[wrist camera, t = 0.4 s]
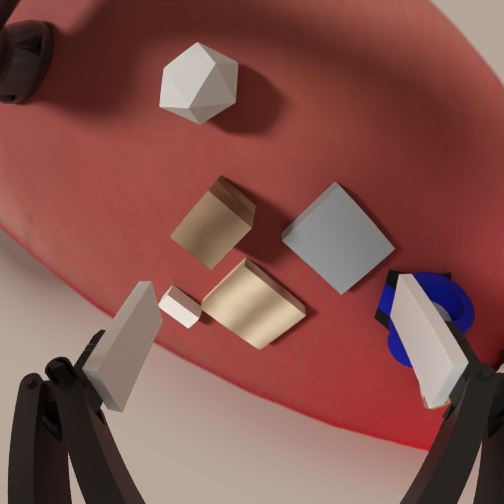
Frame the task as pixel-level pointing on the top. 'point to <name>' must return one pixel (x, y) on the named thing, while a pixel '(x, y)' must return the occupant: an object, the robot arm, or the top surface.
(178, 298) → the white brick
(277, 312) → the oak slab
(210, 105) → the die
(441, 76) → the top surface
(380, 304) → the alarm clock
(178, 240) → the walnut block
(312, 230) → the grey slab
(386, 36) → the top surface
